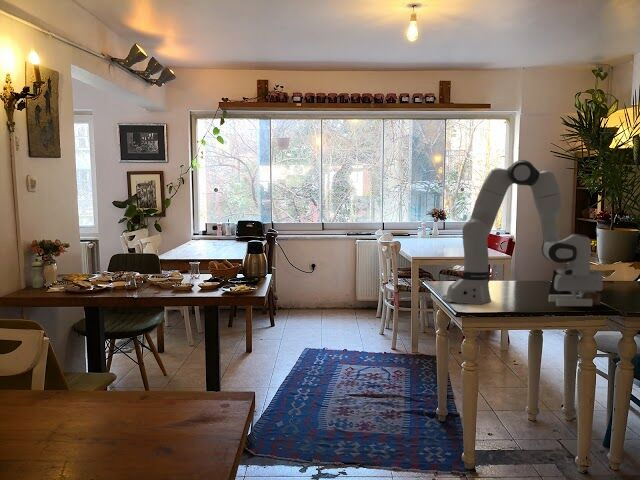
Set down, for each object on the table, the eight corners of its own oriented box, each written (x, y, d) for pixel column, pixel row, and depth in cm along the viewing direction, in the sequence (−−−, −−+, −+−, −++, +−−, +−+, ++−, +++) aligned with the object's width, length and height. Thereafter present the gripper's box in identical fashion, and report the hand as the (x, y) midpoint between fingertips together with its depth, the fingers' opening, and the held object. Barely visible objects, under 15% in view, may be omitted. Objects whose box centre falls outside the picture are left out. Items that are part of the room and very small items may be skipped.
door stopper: (559, 295, 252) (560, 271, 250) (548, 293, 257) (549, 269, 256) (570, 293, 256) (571, 269, 255) (559, 291, 261) (560, 268, 260)
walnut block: (586, 304, 226) (586, 293, 225) (580, 302, 232) (580, 291, 231) (600, 304, 225) (600, 293, 225) (593, 301, 231) (594, 291, 231)
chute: (557, 308, 224) (557, 299, 224) (548, 303, 234) (548, 294, 234) (592, 308, 224) (592, 299, 223) (581, 303, 234) (582, 294, 233)
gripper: (599, 269, 230) (597, 299, 231) (553, 269, 231) (552, 299, 232) (606, 271, 224) (605, 302, 225) (558, 271, 225) (557, 302, 226)
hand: (577, 300), depth 229 cm, fingers closed
